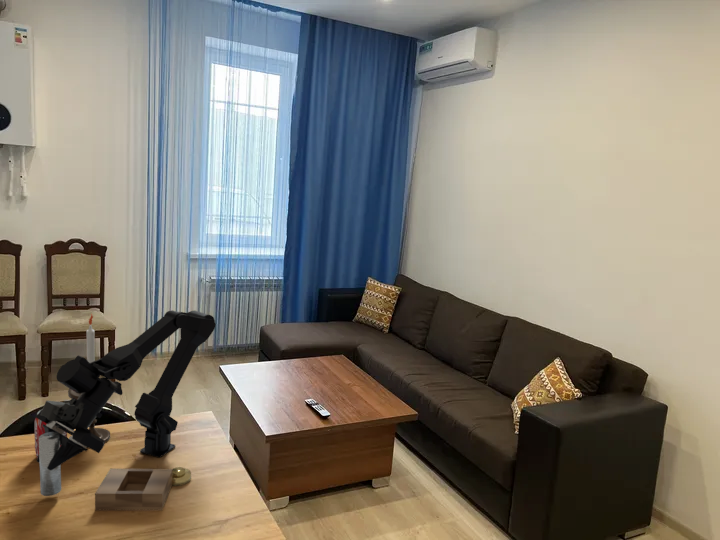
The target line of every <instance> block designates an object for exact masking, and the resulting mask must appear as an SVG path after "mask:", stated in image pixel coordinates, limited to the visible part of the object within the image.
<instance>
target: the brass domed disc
mask: <svg viewBox="0 0 720 540" xmlns="http://www.w3.org/2000/svg"><path fill="white" fill-rule="evenodd" d="M172 469H173V470H172V486H171V487H179V486H183V485H186V484H188V483H190V481H191V480H192V471H191V470H190V469H188V468H186V467H181V466H177V467H174V468H172Z"/></svg>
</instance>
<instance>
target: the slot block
mask: <svg viewBox="0 0 720 540" xmlns="http://www.w3.org/2000/svg"><path fill="white" fill-rule="evenodd" d="M173 469H174V468H110V469H109V470H108V472H107V474H106V475H105V477H104V478H103V480H102V481H101V483H100V485H99V486H98V488H97V489H96V491H95V493H94V510H95V511H163V509H164V507H165V503H166V501H167V499H168V497H169V494H170V491H171V489H172V487H173V486H172V470H173Z"/></svg>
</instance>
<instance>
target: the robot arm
mask: <svg viewBox="0 0 720 540" xmlns="http://www.w3.org/2000/svg"><path fill="white" fill-rule="evenodd" d="M216 326H217V325H216V321H215V317H214V315H211V314H209V313H208V314H207V313H205V312H201V311H198V310H191V311H188V312H183V311H176V310H168V311H166V312H165V313H164V315H163V316H162V317H161V318H160V319H159V320H158V321H156V322H155V323H154V324H153V325H151V326H150V327H148V328H147V329H146V330H145V331H144V332H143V333H141V334H140V335H139V336H137V337H136V338H135V339H133V340H132V341H131V342H129V343H128V344H127V343H126V344H125V345H122V346H118V347H116V348H114V349H112V350H111V351H109V352H107V353H106V354H105V355H104V356H102V357H101V358H99V359H97V360H96V359H95V361H94V362H91V363H89V362H88V361H87V358H85V357H84V356H81V355H76V357H75V358H74V359H71V360H68V361H67V362H66V363H64V364H62V365H61V366H60V368H59V369H58V371H57V373H56V380H57V382H59V383H60V384H62V385H64V386H65V387H67V388H68V389H69V388H70V389H71V390H73V391H74V392H76V393H78V394H81V393H82V394H81V395H80V396H79V398H78V399H75V398H73V399H71V398H70V399H69V401H68V402H64V401H63V402H62V401H57V400H46V401H45V403H44V405H43V408H42V409H43V410H42V409H40V410H41V411H40V410H39V411H40V412H39V414H38V415H37V414H36V416H35V418H37V419H39V420H41V421H43V422H45V423H47V424H46V425H44V424H43V427H44V430H45V433H48V432H57V433H59V434H60V445H61V444H62V445H61V447H60V448H59V450H58V451H57V453H56V454H55V456H54V457H53V459H52V460H51V462H50V464H49V465H48V467H47V469H49V470H53V469H54V468H56V467H57V466H59V465H62V464H64V463H65V462H67V461H68V460H70V459H71V458H74V457H75V456H77V455H79V454H81V453H83V452H87V451H88V450H92V451H94V452H95V453H98V454H100V452H101V451H102V450H103V448H105V443H104V440H103V439H101V438H99V437H98V436H96V435H94V434H92V433H91V432H90V431H91V430H89V426H90V425H91V423H92V422H93V420H94V419H96V418H99V419H100V418H102V417H103V413H102V412H101V411H102V409H103V408H104V407H105V405H106V404H107V403H108V401H109V400H110V399H111V397H112V396H113V395H114V394H117V395H119V396H122V395H123V389H122V383H121V382H125V381H128V380H130V379H131V378H132V377H133V376H134V375H135V374H136V372H138V370H139V369H140V368H141V365H142V363H143V360H144V359H145V358H146V357H147V356H148V355H149V354H150V353H152V352H153V351H154V350H155V349H156V348H158V347H159V346H160V345H161V344H163V342H165V341H166V340H167V339H168V338H170V336H172V335H173V334H174V333H176V332H177V331H178V330H179V329H180V330H179V332H180V333H179V334H180V339H179V342H178V343H177V345H176V347H175V349H174V350H173V353H172V355H171V357H169V358H170V359H169V360H168V362H167V364H166V366H165V368H164V370H163V372H162V374H161V376H160V377H159V379H158V381H157V383H156V385H155V387H154V389H152V390H151V391H150V392H149V393H146V392H143V393H142V394H141V395H140V398H139V400H138V402H137V404H135V406H134V408H135V410H134V414H133V415H134V417H135V420H136V422H138V423H139V425H140V427H143V428H145V429H146V430H145V432H144V447H143V448H140V450H139V452H140V453H142V454H144V455H145V454H146V455H149V456H153V457H156V458H162V457H163V456H165V455H166V454H168V453H169V452H171V450H173V449H175V448H176V444H173V443H171V442H172V441H171V435H172V433H173V432H174V431H176V430H177V426H178V424H179V422H178V421H177V420H176V419H175V418H174V417H172V416H171V413H172V410H173V396H174V394H175V392H176V390H177V389H178V386H179V384H180V383H181V380H182V378H183V376H184V374H185V372H186V370H187V368H188V367H189V365H190V362H191V361H192V359H193V357H194V355H195V353H196V351H197V349H198V348H199V346H201V345H203V344H204V343H205V342H206V341H208V340H209V338H210V336H211V335H212V334H213V333H214V330H215V328H216ZM101 376H102V377H101ZM113 380H115V381H113ZM116 380H117V381H116ZM118 381H119V382H118ZM100 412H101V413H100ZM66 428H67V429H66ZM64 431H65V432H67V435H70V436H69V438H68V436H67V437H66V436H64V435H63V433H64ZM36 462H37V463H38V464H40V463H39V455H38V458H37V457H36Z"/></svg>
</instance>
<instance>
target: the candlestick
mask: <svg viewBox="0 0 720 540" xmlns="http://www.w3.org/2000/svg"><path fill="white" fill-rule="evenodd" d="M93 318H94V316H93V313H91V314H90V317H89V319H88V325H89V326H88V329H87V330H86V360H87V361H88V362H89V363H91V362H94V361H96V353H95V352H96V351H95V350H96V349H95V347H96V345H95V338H96V336H95V334H96V333H95V329H93V325H92V324H93ZM81 394H82V393H81ZM81 394H78V393H76V392H74V391H73V390H71V389H70V388H68V390H67V395H68V397H69V399H70V400H71V399H73V398H75V399H78V398H79V396H80V395H81ZM97 421H98V419H96V418H95V419H94V420H93V422H92V423H91V425H90V426H89V427H88V429H89V430H91V431H90V432H91V433H92V434H94V435H96V436H98V437H99V438H101V439H103V440H104V444H106V443H107V442H109V440H110V438H111V432H110V430H108V429H106V428H101V427H95V424H96V423H97ZM106 441H107V442H106ZM105 442H106V443H105Z"/></svg>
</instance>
